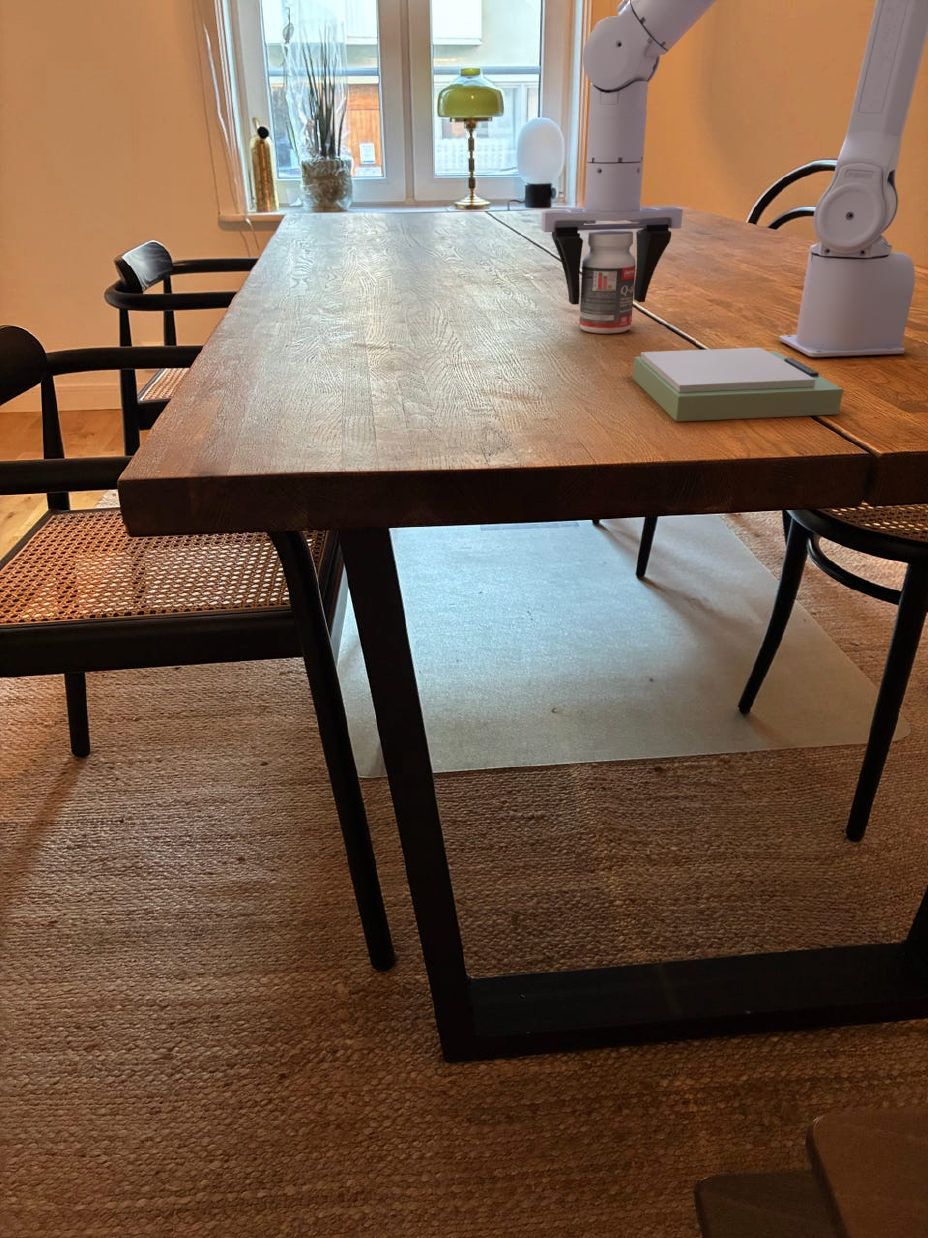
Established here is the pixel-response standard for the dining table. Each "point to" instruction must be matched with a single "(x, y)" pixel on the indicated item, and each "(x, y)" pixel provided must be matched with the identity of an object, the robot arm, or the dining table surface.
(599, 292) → the pill bottle
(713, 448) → the dining table surface
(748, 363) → the scale
